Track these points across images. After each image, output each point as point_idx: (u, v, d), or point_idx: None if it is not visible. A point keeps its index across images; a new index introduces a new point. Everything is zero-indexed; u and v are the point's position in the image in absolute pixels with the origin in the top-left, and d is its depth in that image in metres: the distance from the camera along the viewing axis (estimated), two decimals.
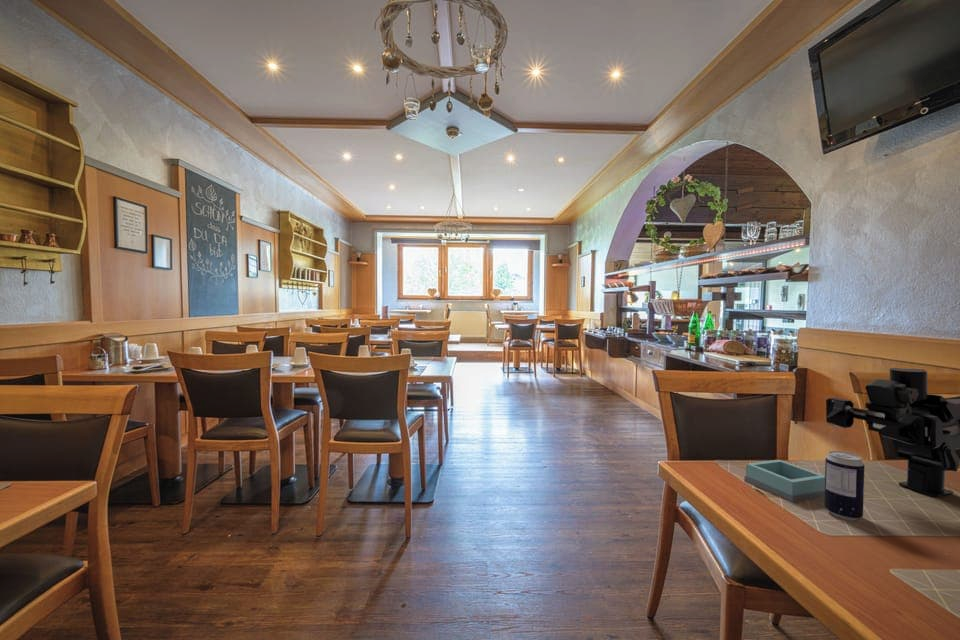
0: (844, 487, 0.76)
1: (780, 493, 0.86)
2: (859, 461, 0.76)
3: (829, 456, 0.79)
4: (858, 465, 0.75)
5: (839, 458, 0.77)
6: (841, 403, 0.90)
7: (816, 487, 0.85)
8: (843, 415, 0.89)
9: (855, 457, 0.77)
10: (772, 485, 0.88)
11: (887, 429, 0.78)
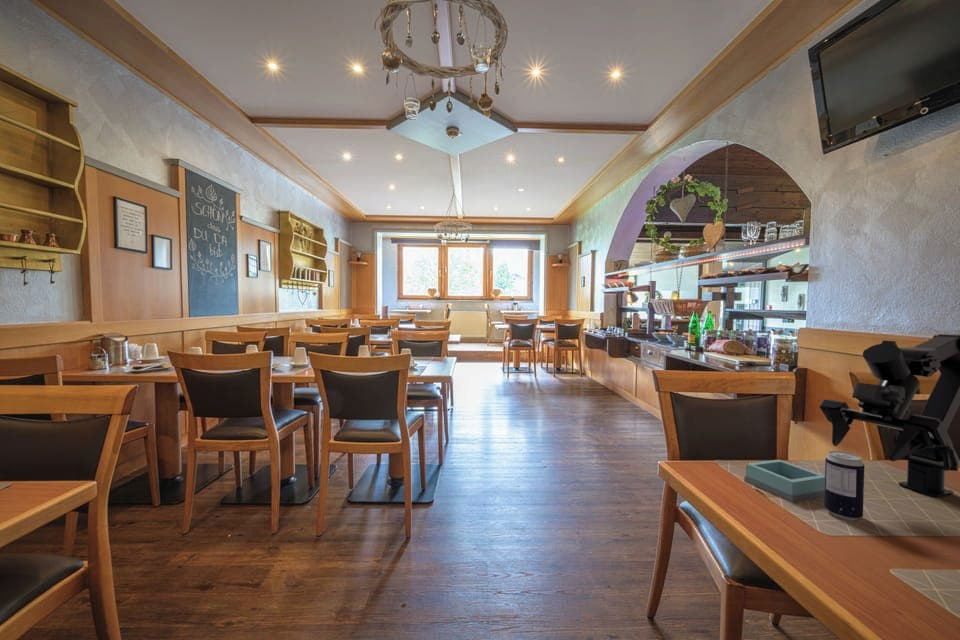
0: (844, 487, 0.76)
1: (780, 493, 0.86)
2: (859, 461, 0.76)
3: (829, 456, 0.79)
4: (858, 465, 0.75)
5: (839, 458, 0.77)
6: (836, 412, 0.86)
7: (816, 487, 0.85)
8: (843, 423, 0.86)
9: (855, 457, 0.77)
10: (772, 485, 0.88)
11: (896, 453, 0.75)
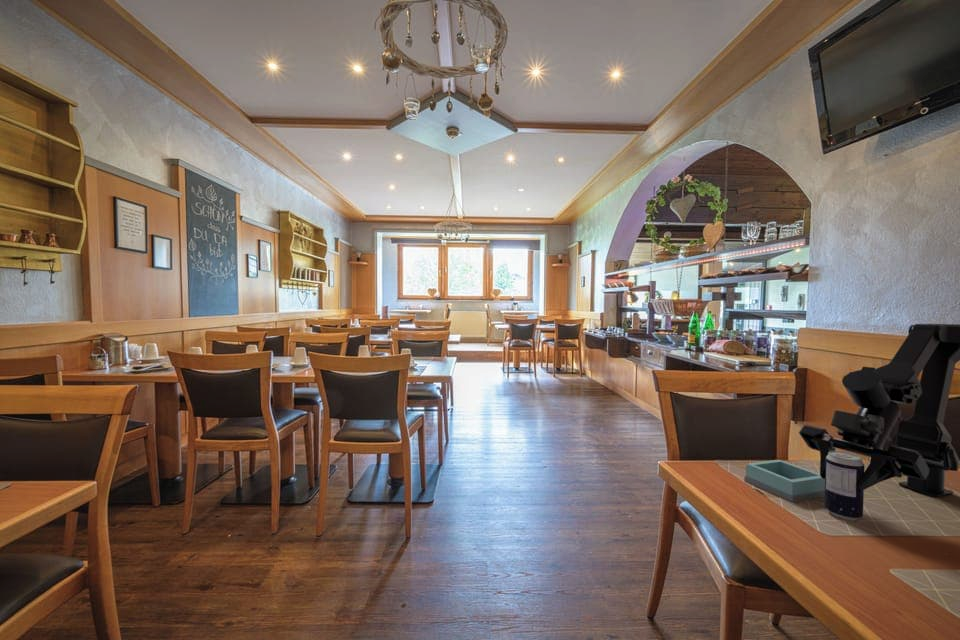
0: (844, 487, 0.76)
1: (780, 493, 0.86)
2: (859, 461, 0.76)
3: (829, 456, 0.79)
4: (858, 465, 0.75)
5: (839, 458, 0.77)
6: (824, 442, 0.82)
7: (816, 487, 0.85)
8: None
9: (855, 457, 0.77)
10: (772, 485, 0.88)
11: (864, 483, 0.74)
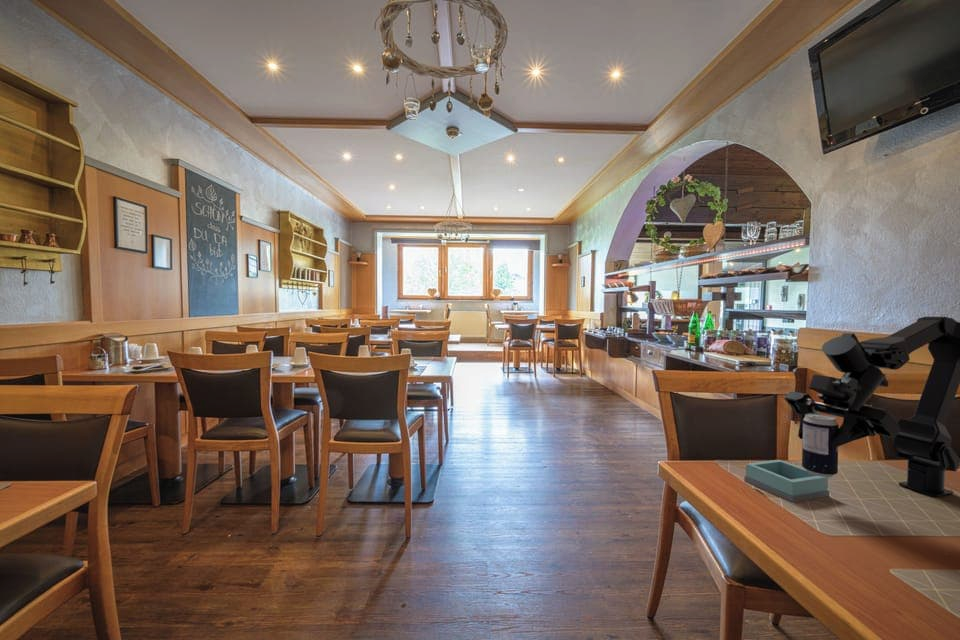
0: (817, 445, 0.80)
1: (780, 493, 0.86)
2: (832, 421, 0.80)
3: (805, 417, 0.83)
4: (830, 425, 0.79)
5: (813, 418, 0.81)
6: (804, 406, 0.86)
7: (816, 487, 0.85)
8: None
9: (831, 418, 0.81)
10: (772, 485, 0.88)
11: (835, 441, 0.79)
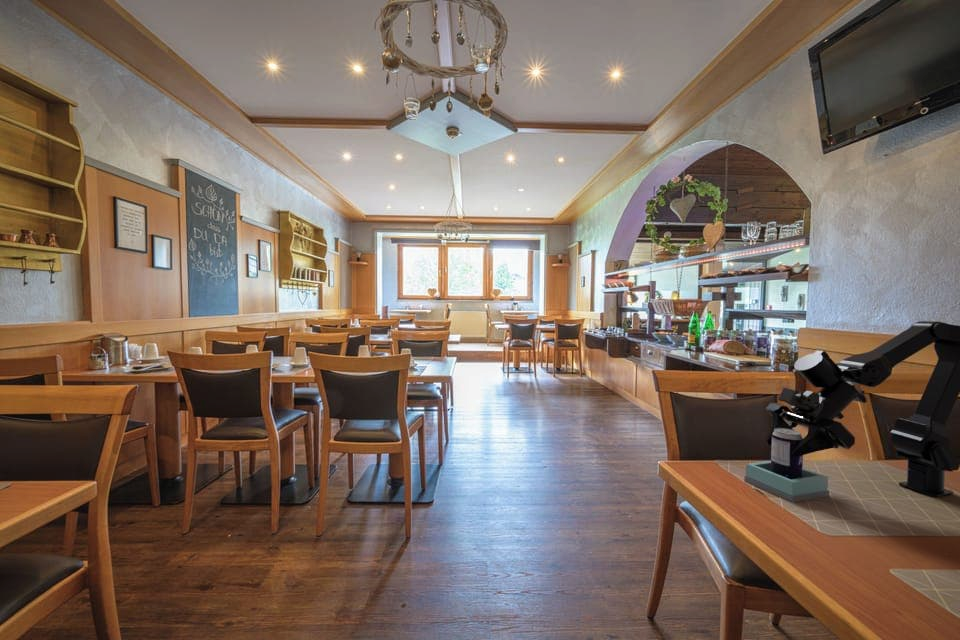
0: (780, 457, 0.89)
1: (780, 493, 0.86)
2: (795, 435, 0.87)
3: (774, 431, 0.91)
4: (792, 439, 0.87)
5: (778, 432, 0.89)
6: (776, 415, 0.95)
7: (816, 487, 0.85)
8: (783, 425, 0.94)
9: (797, 433, 0.89)
10: (772, 485, 0.88)
11: (798, 450, 0.85)
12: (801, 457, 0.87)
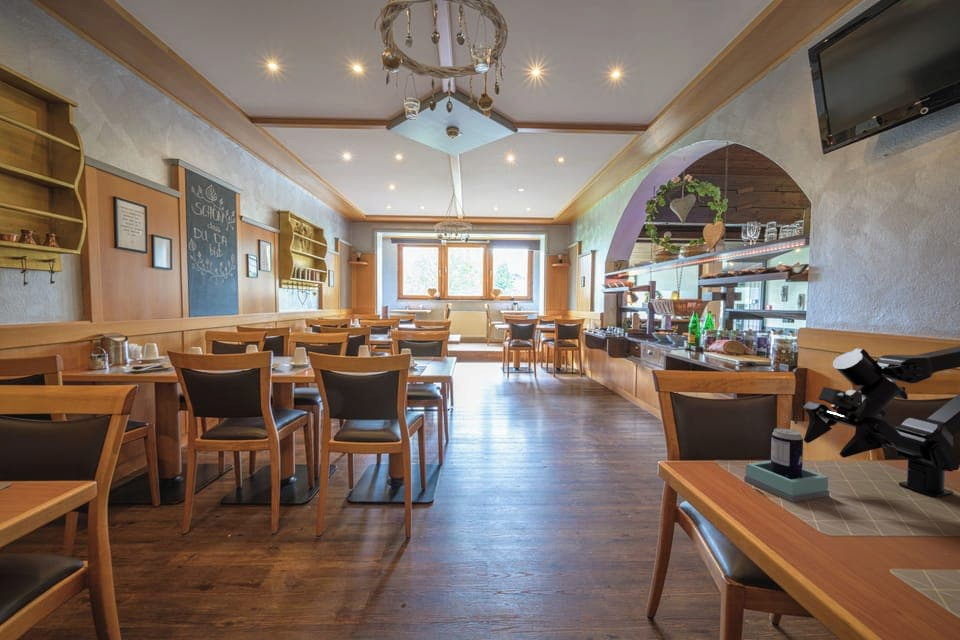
0: (780, 457, 0.89)
1: (780, 493, 0.86)
2: (794, 436, 0.87)
3: None
4: (792, 439, 0.87)
5: (777, 432, 0.89)
6: (812, 413, 0.95)
7: (816, 487, 0.85)
8: (820, 423, 0.95)
9: (796, 433, 0.89)
10: (772, 485, 0.88)
11: (846, 450, 0.85)
12: (801, 457, 0.87)
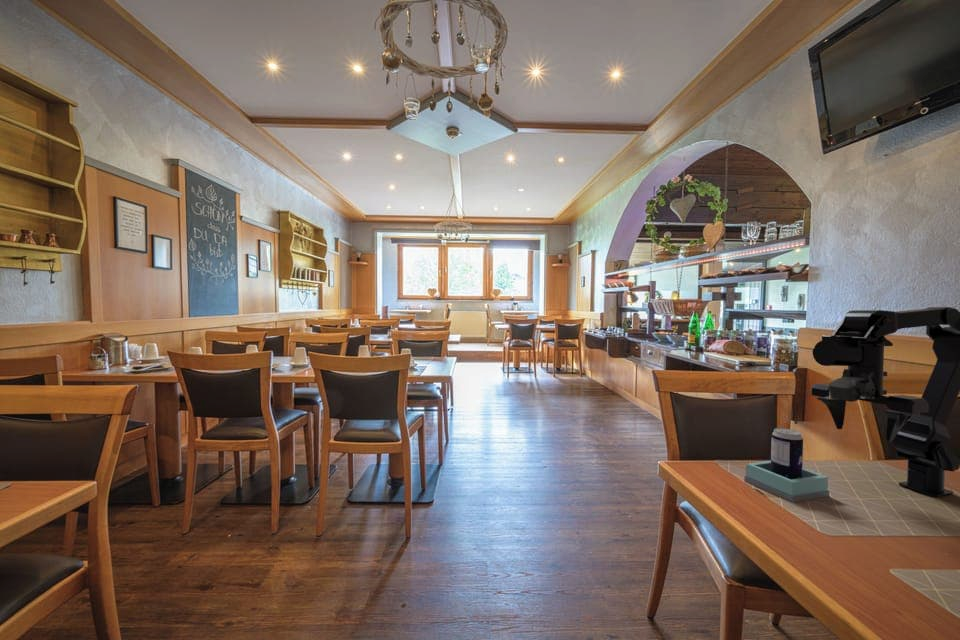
0: (780, 457, 0.89)
1: (780, 493, 0.86)
2: (794, 436, 0.87)
3: None
4: (792, 439, 0.87)
5: (777, 432, 0.89)
6: (827, 401, 0.93)
7: (816, 487, 0.85)
8: (838, 404, 0.93)
9: (796, 433, 0.89)
10: (772, 485, 0.88)
11: (891, 436, 0.83)
12: (801, 457, 0.87)
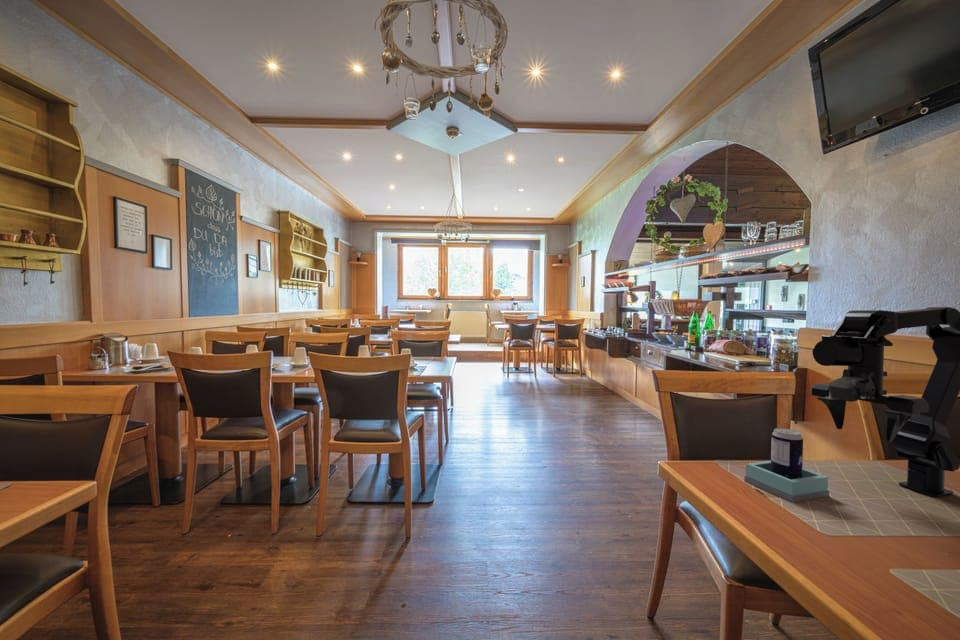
0: (780, 457, 0.89)
1: (780, 493, 0.86)
2: (794, 435, 0.87)
3: None
4: (792, 439, 0.87)
5: (777, 432, 0.89)
6: (827, 401, 0.93)
7: (816, 487, 0.85)
8: (838, 404, 0.93)
9: (796, 433, 0.89)
10: (772, 485, 0.88)
11: (891, 436, 0.83)
12: (801, 457, 0.87)
